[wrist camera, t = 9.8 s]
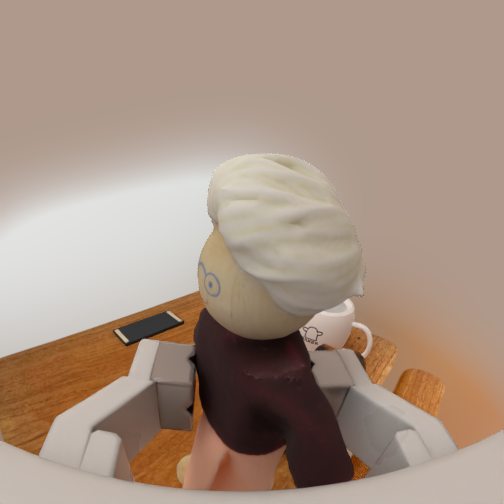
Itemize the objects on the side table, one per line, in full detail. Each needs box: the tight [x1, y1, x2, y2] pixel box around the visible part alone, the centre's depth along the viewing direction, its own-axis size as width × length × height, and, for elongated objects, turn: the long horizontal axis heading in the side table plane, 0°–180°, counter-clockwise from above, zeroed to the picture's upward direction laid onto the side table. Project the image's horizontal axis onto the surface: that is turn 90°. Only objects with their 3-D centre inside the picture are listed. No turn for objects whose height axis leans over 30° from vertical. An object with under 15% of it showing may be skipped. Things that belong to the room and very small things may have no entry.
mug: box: [299, 299, 373, 358], centre depth 40 cm, size 12×8×8 cm
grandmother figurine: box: [177, 153, 366, 491], centre depth 7 cm, size 8×4×13 cm, turn 39°
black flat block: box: [113, 310, 184, 346], centre depth 42 cm, size 10×4×1 cm, turn 139°
